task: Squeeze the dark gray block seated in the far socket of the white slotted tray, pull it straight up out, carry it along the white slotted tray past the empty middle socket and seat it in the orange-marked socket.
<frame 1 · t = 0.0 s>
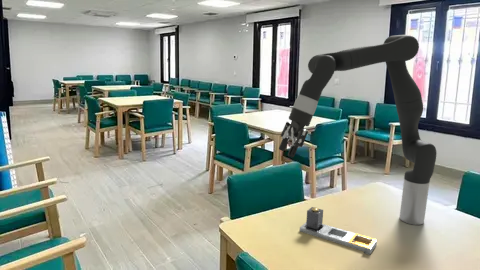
hand: (285, 153, 128), 31 cm above the table, tool tilted 20°, fingers open, 8 cm apart
white slotted tray: (336, 238, 132), on the table
dark gray block: (313, 230, 137), point 1 cm above the table, touching white slotted tray
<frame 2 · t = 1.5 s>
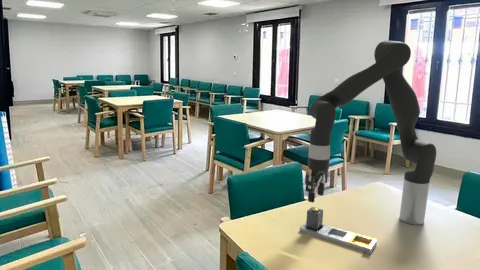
hand: (315, 198, 134), 13 cm above the table, tool pointing down, fingers open, 8 cm apart
nothing on the table moved.
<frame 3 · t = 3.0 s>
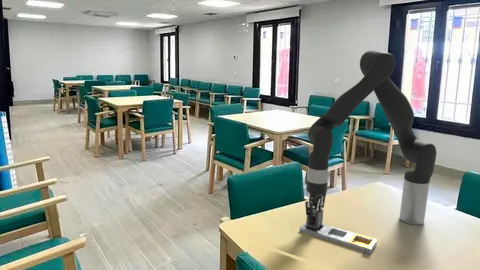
hand: (314, 222, 136), 4 cm above the table, tool pointing down, fingers closed on dark gray block, 4 cm apart
dark gray block: (313, 230, 137), point 1 cm above the table, touching gripper, white slotted tray
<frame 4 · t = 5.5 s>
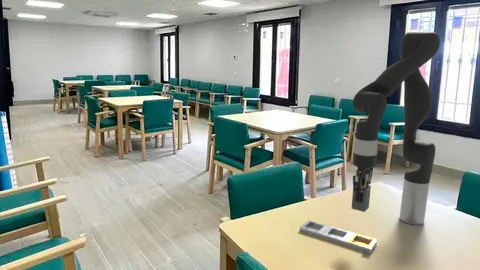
hand: (361, 199, 125), 17 cm above the table, tool pointing down, fingers closed on dark gray block, 4 cm apart
dark gray block: (360, 208, 126), point 14 cm above the table, touching gripper
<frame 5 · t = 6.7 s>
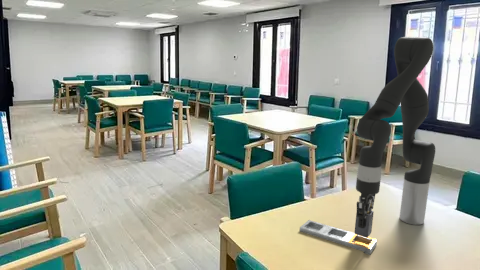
hand: (363, 224, 125), 8 cm above the table, tool pointing down, fingers closed on dark gray block, 4 cm apart
dark gray block: (362, 233, 126), point 5 cm above the table, touching gripper
when the fingers open (4 cm above the table, at t = 7.9 s): dark gray block stays where it is, resting on white slotted tray.
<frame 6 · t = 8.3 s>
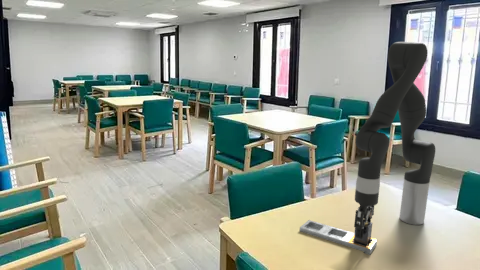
hand: (362, 233, 126), 5 cm above the table, tool pointing down, fingers open, 8 cm apart
dark gray block: (361, 244, 127), point 1 cm above the table, touching white slotted tray
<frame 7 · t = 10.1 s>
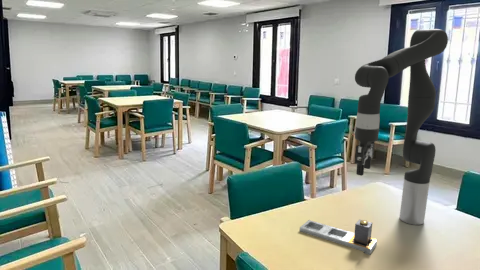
hand: (363, 171, 126), 26 cm above the table, tool pointing down, fingers open, 8 cm apart
nothing on the table moved.
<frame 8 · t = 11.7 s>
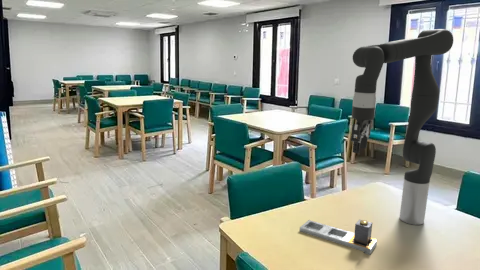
hand: (359, 150, 130), 32 cm above the table, tool pointing down, fingers open, 8 cm apart
nothing on the table moved.
at the end: dark gray block 0.0 cm from the target spot on the white slotted tray, point 0.7 cm above the white slotted tray's base; dark gray block tilted 0°; the gripper is holding nothing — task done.
